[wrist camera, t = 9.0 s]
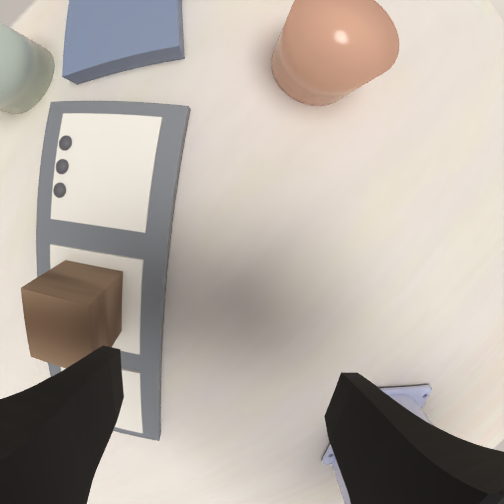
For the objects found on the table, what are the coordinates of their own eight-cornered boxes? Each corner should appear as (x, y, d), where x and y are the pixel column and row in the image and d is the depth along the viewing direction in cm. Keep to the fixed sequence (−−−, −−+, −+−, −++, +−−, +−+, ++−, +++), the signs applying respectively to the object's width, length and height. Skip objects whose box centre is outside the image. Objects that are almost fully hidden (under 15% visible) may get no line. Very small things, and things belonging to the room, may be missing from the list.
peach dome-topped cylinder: (347, 114, 17) (395, 94, 11) (265, 95, 16) (281, 59, 10) (355, 45, 15) (399, 7, 10) (278, 25, 15) (297, -28, 9)
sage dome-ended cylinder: (44, 111, 15) (-13, 98, 9) (-4, 115, 14) (-59, 108, 9) (62, 43, 14) (15, 11, 8) (12, 52, 13) (-37, 31, 8)
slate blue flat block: (185, 60, 15) (179, 45, 13) (79, 85, 15) (62, 76, 13) (181, -49, 13) (177, -68, 11) (88, -25, 13) (77, -40, 10)
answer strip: (160, 434, 22) (158, 443, 20) (63, 409, 21) (59, 416, 19) (190, 109, 16) (187, 105, 15) (57, 104, 15) (48, 101, 14)
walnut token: (121, 330, 18) (94, 376, 13) (67, 317, 17) (30, 356, 13) (123, 271, 17) (89, 305, 12) (65, 259, 16) (21, 288, 12)
